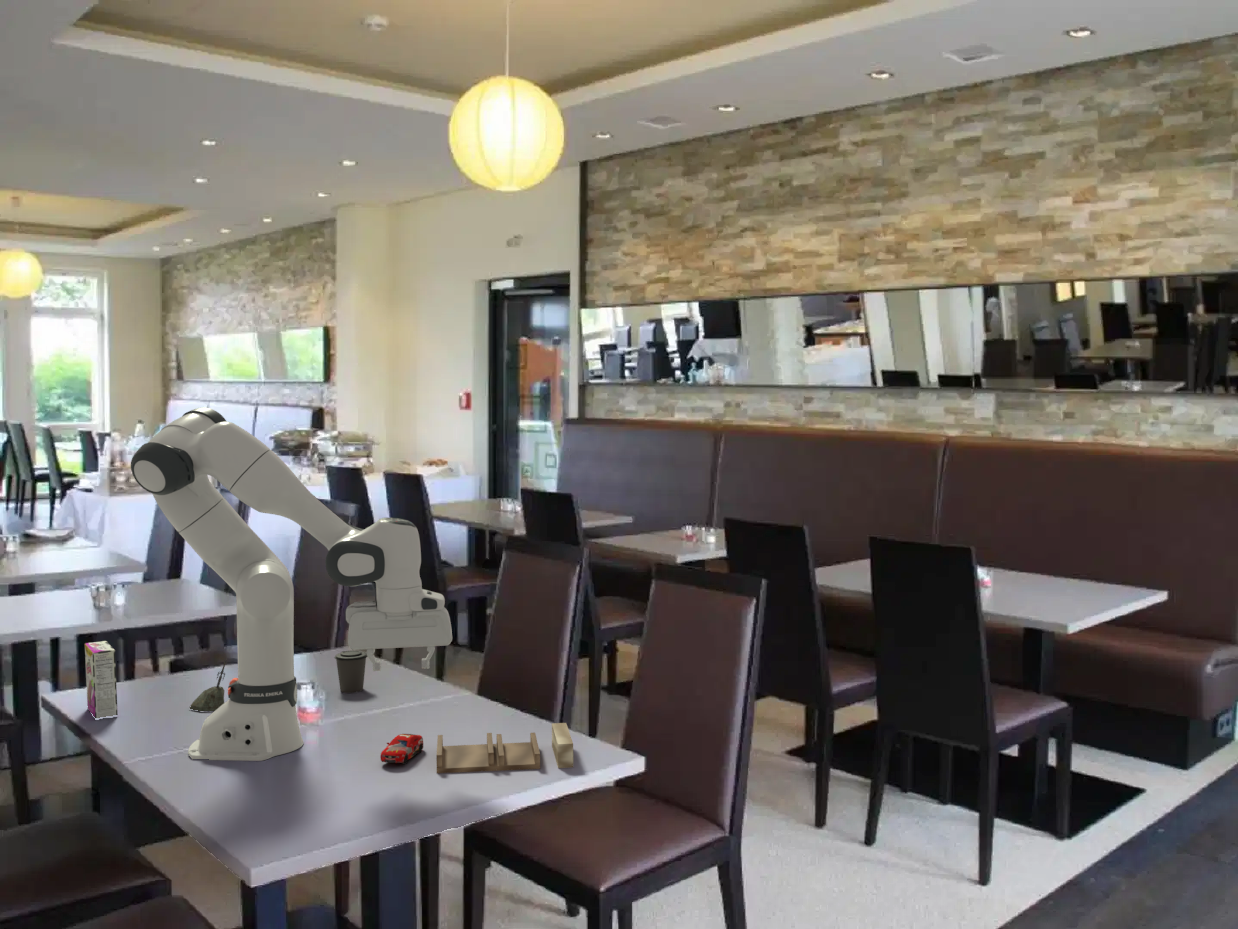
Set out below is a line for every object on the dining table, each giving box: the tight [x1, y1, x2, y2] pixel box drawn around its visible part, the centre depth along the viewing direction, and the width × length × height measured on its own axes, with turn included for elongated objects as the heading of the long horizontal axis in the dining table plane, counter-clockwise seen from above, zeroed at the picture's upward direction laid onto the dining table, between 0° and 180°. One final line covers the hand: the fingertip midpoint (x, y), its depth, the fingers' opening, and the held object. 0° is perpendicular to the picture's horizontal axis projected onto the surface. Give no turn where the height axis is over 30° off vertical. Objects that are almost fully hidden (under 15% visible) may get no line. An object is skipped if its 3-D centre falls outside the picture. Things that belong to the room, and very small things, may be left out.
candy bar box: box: [84, 640, 118, 718], centre depth 253 cm, size 11×5×16 cm, turn 34°
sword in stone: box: [189, 657, 228, 711], centre depth 259 cm, size 10×8×12 cm
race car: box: [380, 733, 424, 765], centre depth 224 cm, size 13×5×4 cm, turn 167°
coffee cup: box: [333, 649, 369, 694], centre depth 275 cm, size 8×8×10 cm
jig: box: [435, 732, 541, 774], centre depth 223 cm, size 20×14×4 cm
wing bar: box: [551, 722, 574, 769], centre depth 225 cm, size 3×14×5 cm, turn 8°
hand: (401, 669), depth 220 cm, fingers open, 8 cm apart
